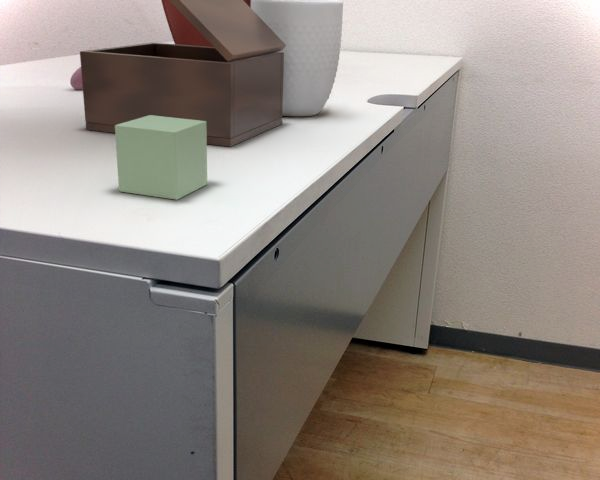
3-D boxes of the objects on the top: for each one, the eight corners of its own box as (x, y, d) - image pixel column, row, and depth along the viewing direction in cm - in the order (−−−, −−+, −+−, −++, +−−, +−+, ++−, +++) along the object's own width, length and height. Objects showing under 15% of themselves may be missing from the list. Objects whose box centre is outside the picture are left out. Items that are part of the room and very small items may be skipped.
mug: (233, 100, 97) (233, -6, 92) (311, 99, 100) (316, -3, 95) (261, 120, 84) (263, -1, 79) (350, 119, 87) (357, 2, 82)
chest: (85, 129, 76) (79, 51, 72) (154, 110, 88) (152, 42, 85) (230, 146, 71) (230, 63, 68) (282, 123, 83) (284, 52, 80)
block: (118, 191, 55) (114, 125, 53) (152, 176, 59) (149, 114, 57) (177, 200, 54) (175, 132, 52) (207, 184, 58) (206, 121, 56)
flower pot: (154, 68, 126) (150, -39, 119) (212, 60, 141) (211, -35, 135) (251, 78, 118) (252, -35, 111) (301, 68, 134) (304, -32, 127)
